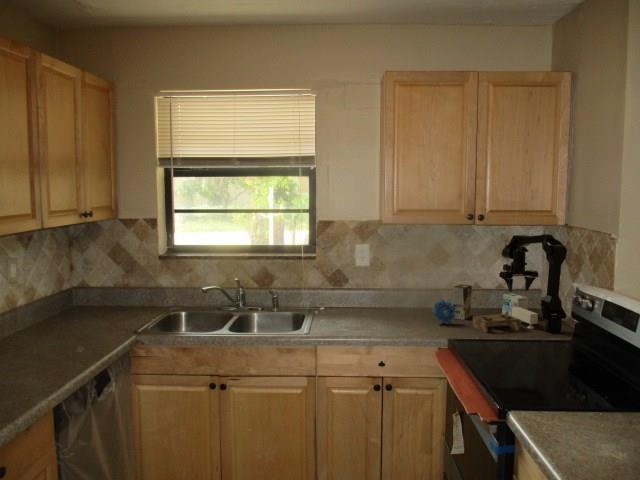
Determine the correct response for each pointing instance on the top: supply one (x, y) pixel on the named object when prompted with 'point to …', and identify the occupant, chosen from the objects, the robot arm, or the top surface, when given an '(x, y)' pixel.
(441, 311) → the grapes
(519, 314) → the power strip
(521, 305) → the light bulb box
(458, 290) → the coffee box
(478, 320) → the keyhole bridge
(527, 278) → the robot arm
